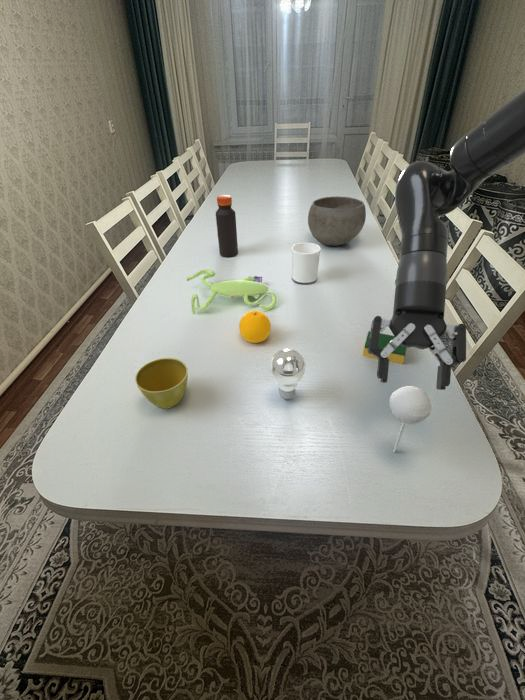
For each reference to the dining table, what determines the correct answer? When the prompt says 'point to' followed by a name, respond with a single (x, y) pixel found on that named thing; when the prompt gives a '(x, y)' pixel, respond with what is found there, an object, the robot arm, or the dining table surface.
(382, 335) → the sponge
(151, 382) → the flower pot
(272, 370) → the light bulb
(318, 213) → the bowl
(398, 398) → the lollipop
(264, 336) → the orange
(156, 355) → the dining table surface
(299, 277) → the mug
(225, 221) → the bottle
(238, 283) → the figurine
